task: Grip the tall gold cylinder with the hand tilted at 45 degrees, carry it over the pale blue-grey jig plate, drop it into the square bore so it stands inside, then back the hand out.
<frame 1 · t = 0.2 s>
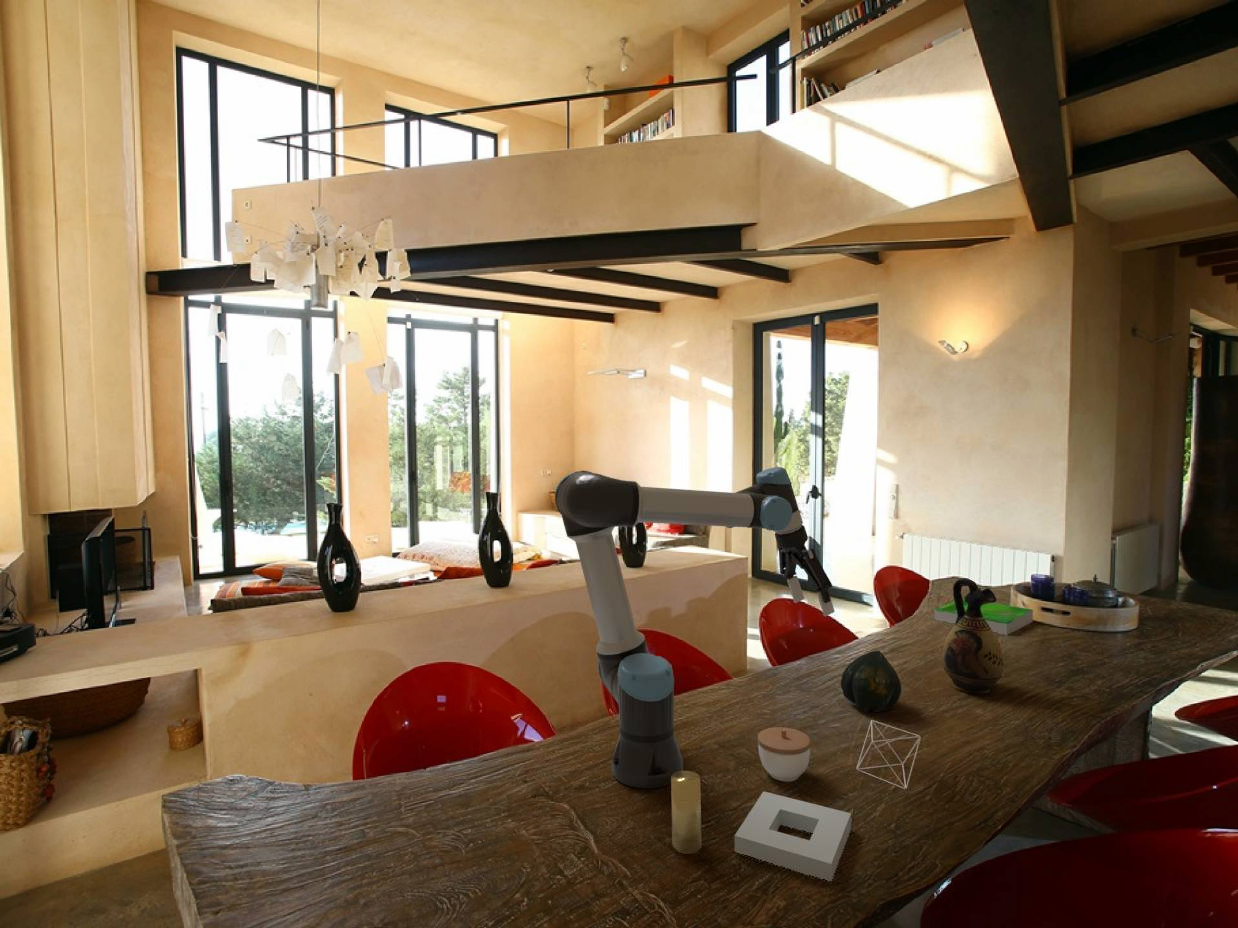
hand: (813, 607, 166), 28 cm above the table, tool tilted 20°, fingers open, 13 cm apart
lidded jar: (784, 775, 139), on the table
geometric polyhedron: (888, 775, 138), on the table
ceramic jug: (969, 687, 184), on the table
gold cylinder: (686, 845, 115), on the table
squash: (870, 706, 173), on the table
jig: (794, 840, 116), on the table
tray: (983, 623, 248), on the table
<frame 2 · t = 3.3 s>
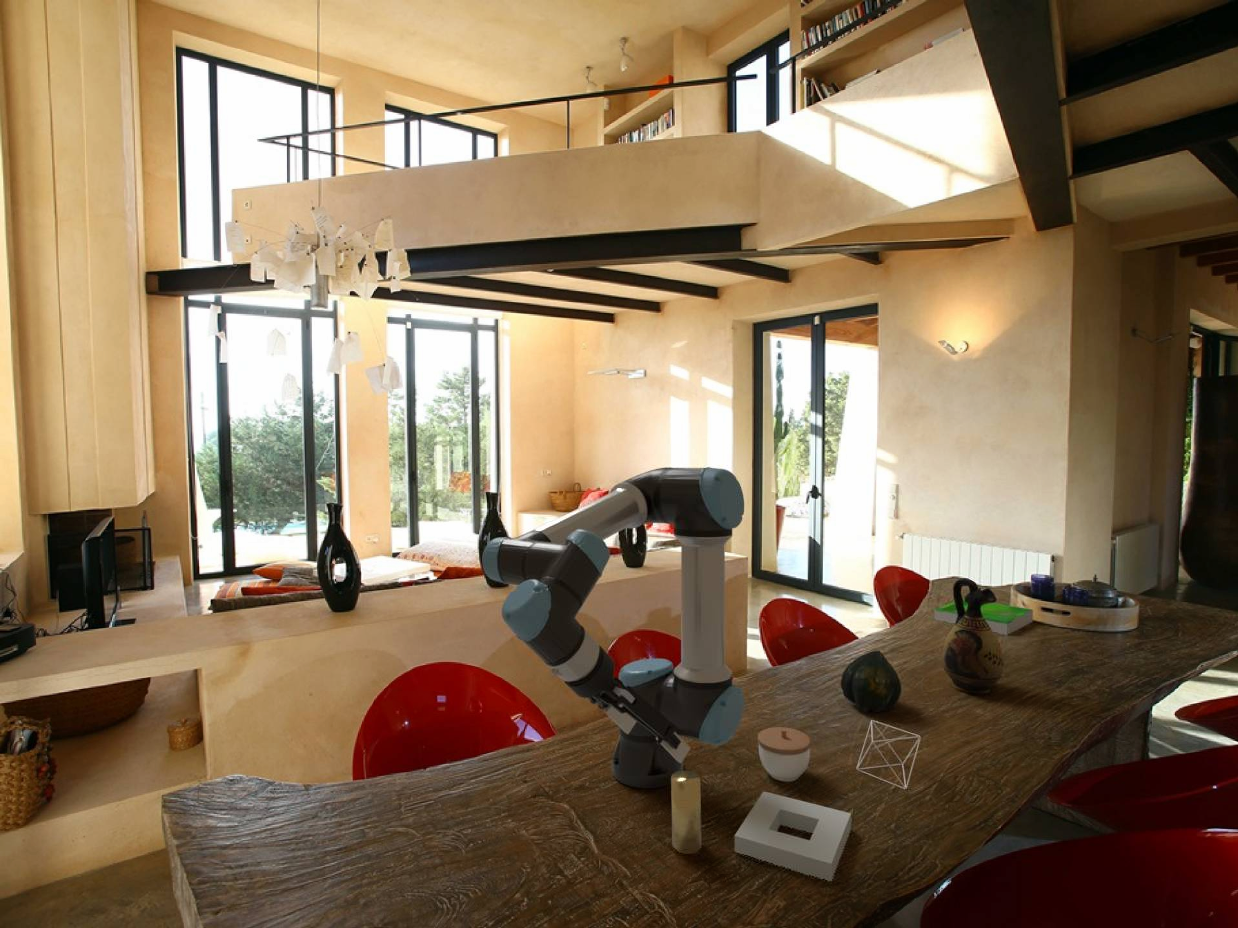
hand: (656, 740, 109), 21 cm above the table, tool tilted 40°, fingers open, 13 cm apart
nothing on the table moved.
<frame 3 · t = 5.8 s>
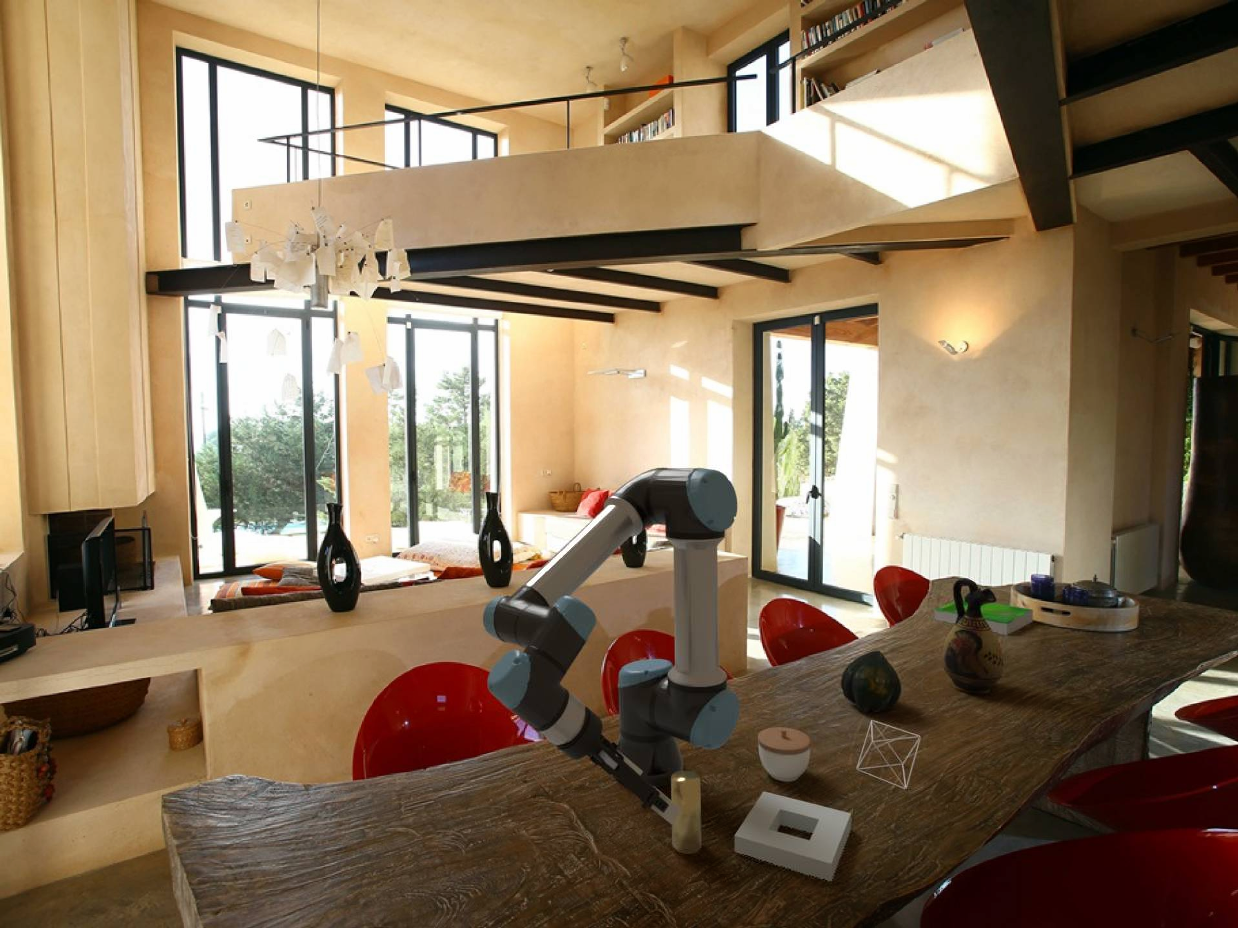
hand: (655, 795, 111), 11 cm above the table, tool tilted 45°, fingers open, 13 cm apart
nothing on the table moved.
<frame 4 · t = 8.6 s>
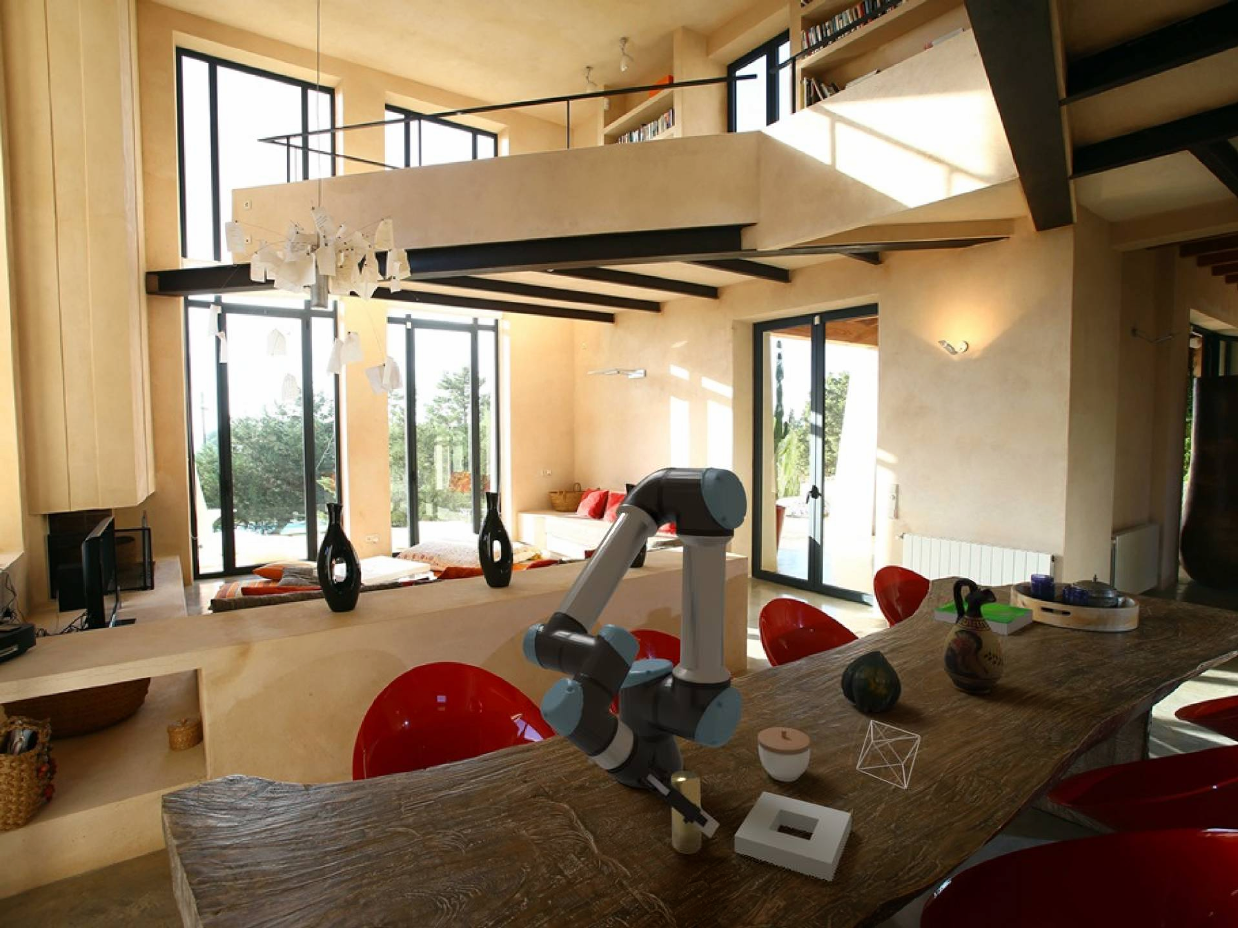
hand: (704, 821, 116), 3 cm above the table, tool tilted 45°, fingers closed on gold cylinder, 5 cm apart
gold cylinder: (686, 845, 115), on the table, touching gripper
everything else where it was.
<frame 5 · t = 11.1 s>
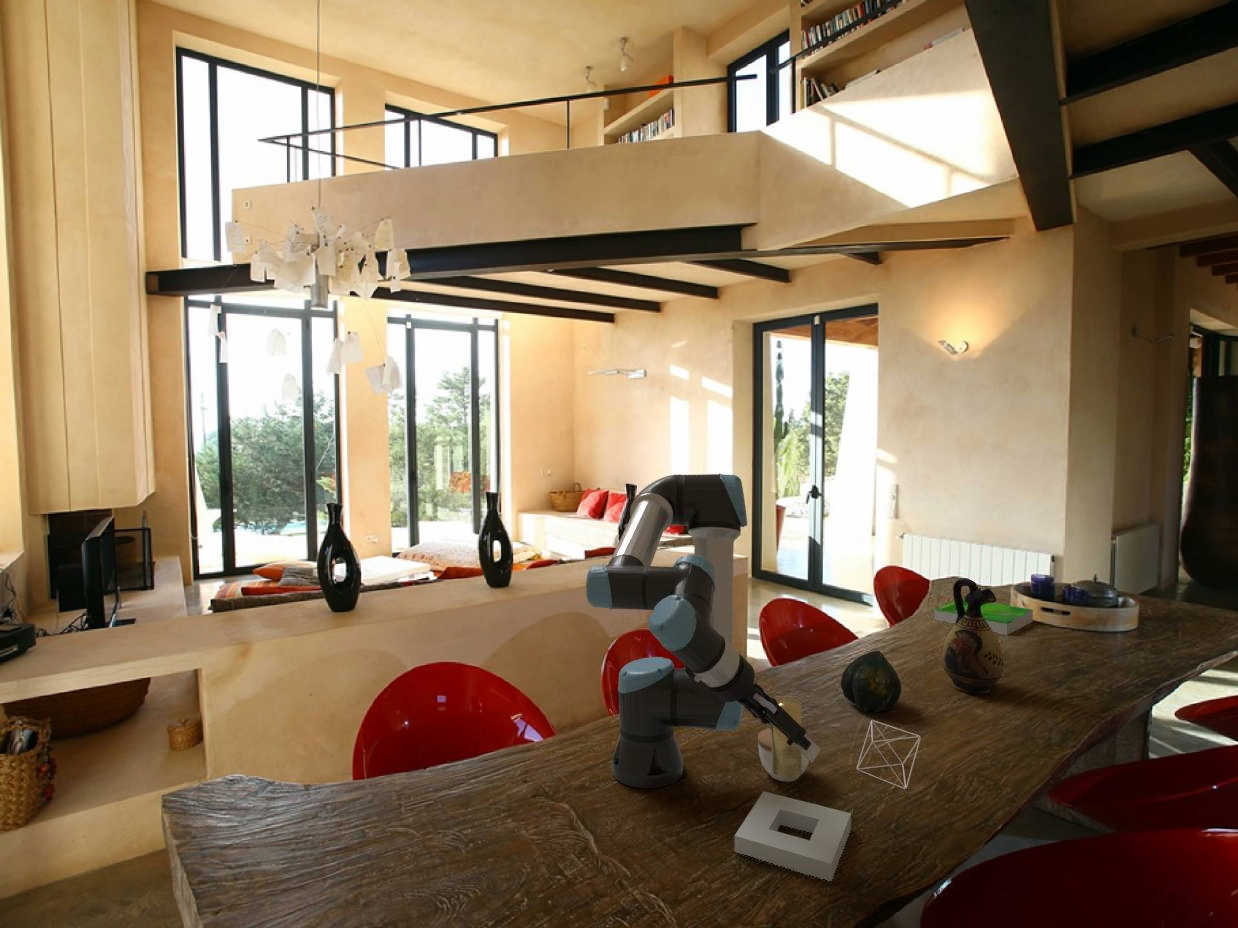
hand: (804, 747, 116), 16 cm above the table, tool tilted 45°, fingers closed on gold cylinder, 5 cm apart
gold cylinder: (786, 771, 114), point 13 cm above the table, touching gripper
everything else where it was.
when the fingers open (7 cm above the table, at t = 13.6 s): gold cylinder drops 4 cm, resting in jig.
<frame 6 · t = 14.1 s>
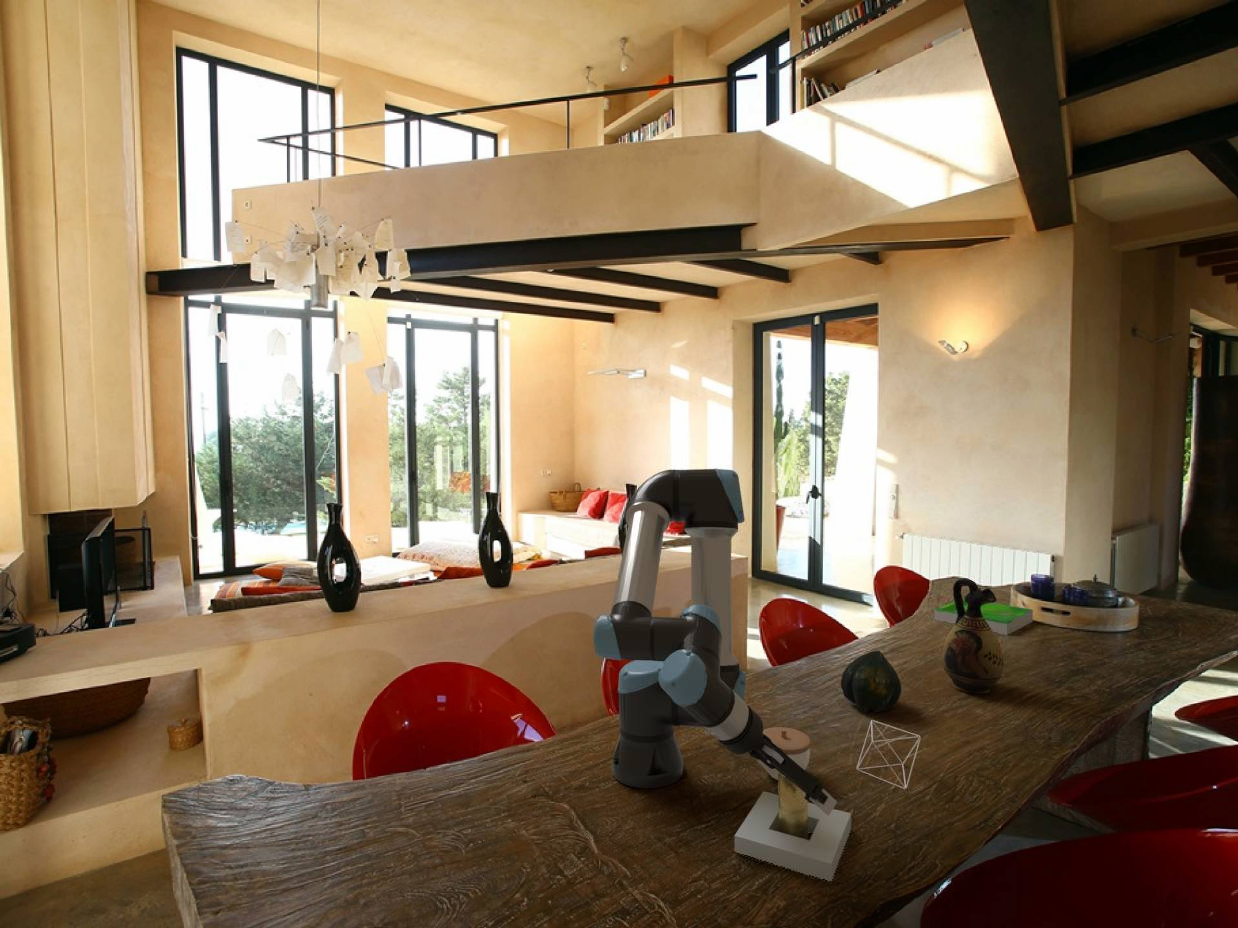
hand: (805, 789, 116), 8 cm above the table, tool tilted 45°, fingers open, 12 cm apart
gold cylinder: (793, 840, 116), resting in jig
everything else where it was.
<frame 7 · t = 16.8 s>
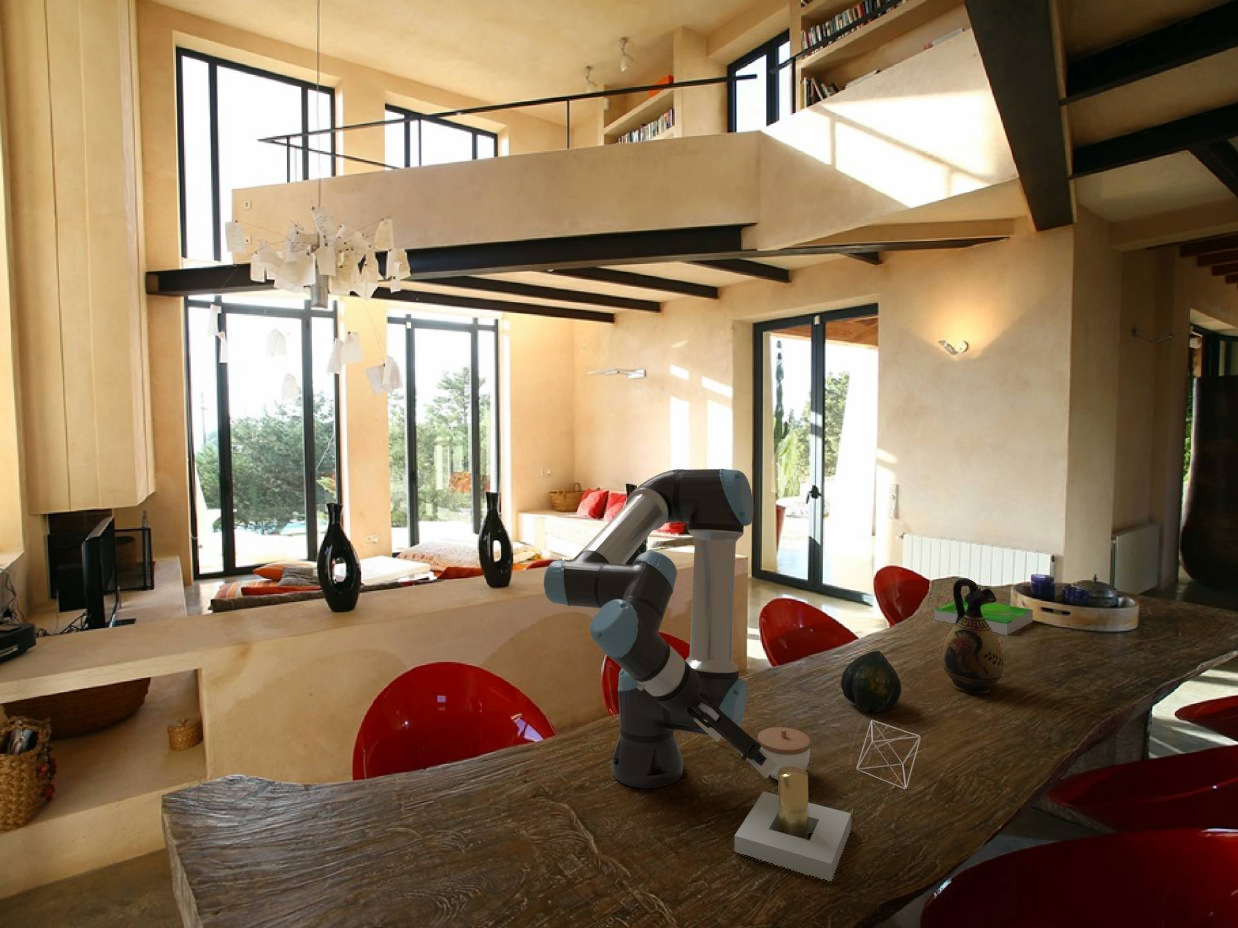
hand: (744, 751, 111), 18 cm above the table, tool tilted 45°, fingers open, 13 cm apart
nothing on the table moved.
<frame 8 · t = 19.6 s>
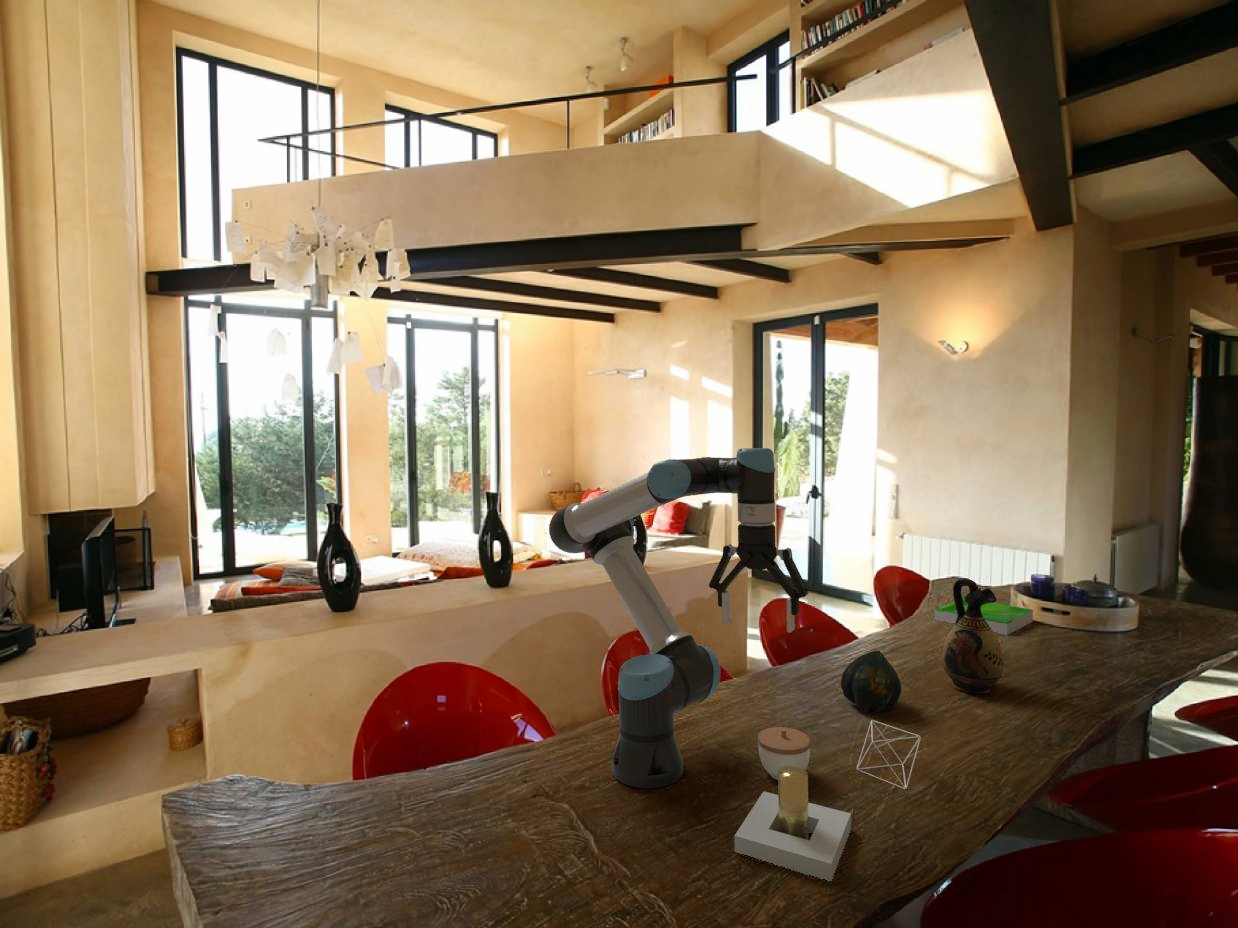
hand: (757, 626, 136), 32 cm above the table, tool pointing down, fingers open, 13 cm apart
nothing on the table moved.
at the end: gold cylinder 0.2 cm off-centre on the jig, point 0.0 cm above the jig's base; gold cylinder tilted 1°; the gripper is holding nothing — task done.
